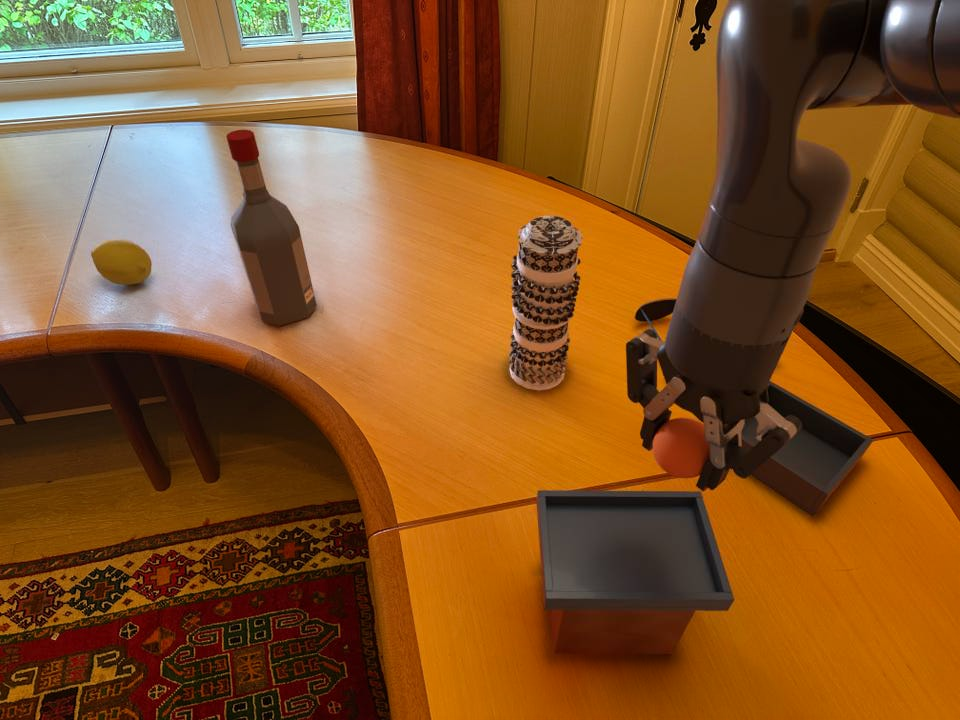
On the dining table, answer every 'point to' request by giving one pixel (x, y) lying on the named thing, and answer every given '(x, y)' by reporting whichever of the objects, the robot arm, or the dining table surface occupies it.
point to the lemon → (122, 261)
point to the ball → (681, 447)
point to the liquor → (269, 242)
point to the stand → (618, 631)
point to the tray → (629, 552)
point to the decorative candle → (543, 301)
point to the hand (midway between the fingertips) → (678, 462)
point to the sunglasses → (655, 311)
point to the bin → (807, 452)
